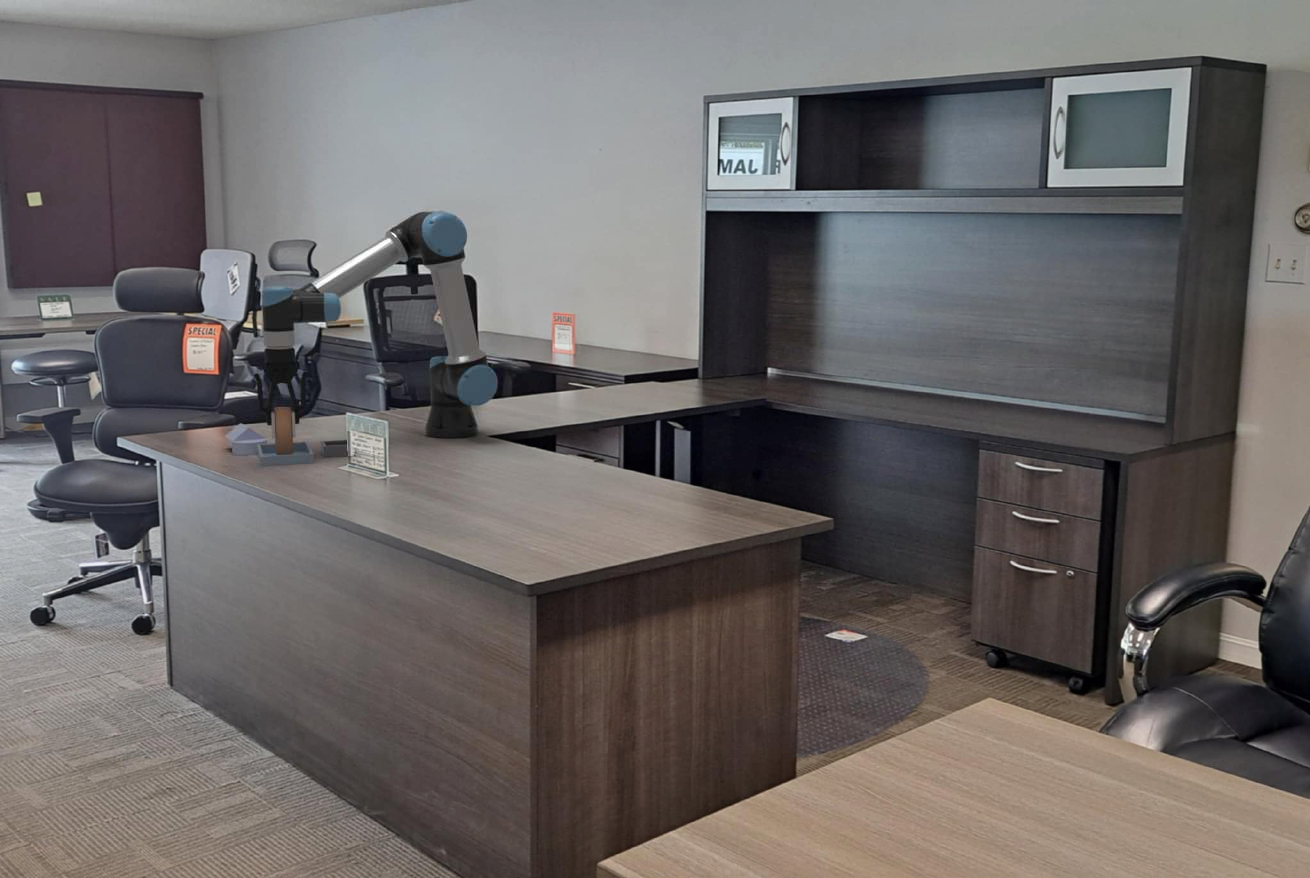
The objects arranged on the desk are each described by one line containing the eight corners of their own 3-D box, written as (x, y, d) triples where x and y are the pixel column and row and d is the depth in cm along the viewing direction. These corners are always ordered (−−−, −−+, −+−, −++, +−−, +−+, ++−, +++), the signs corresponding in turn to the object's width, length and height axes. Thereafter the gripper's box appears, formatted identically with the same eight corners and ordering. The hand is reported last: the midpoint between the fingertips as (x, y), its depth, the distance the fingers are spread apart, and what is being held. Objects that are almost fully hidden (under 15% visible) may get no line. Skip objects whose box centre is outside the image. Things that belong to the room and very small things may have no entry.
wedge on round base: (225, 448, 333) (237, 456, 322) (223, 424, 332) (235, 431, 321) (258, 445, 338) (271, 453, 327) (257, 421, 337) (270, 428, 326)
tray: (308, 452, 328) (307, 441, 328) (314, 465, 311) (313, 453, 311) (257, 455, 324) (256, 444, 323) (260, 468, 307) (260, 456, 306)
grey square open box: (351, 452, 328) (351, 439, 328) (355, 458, 321) (354, 444, 320) (321, 454, 325) (320, 441, 325) (324, 460, 318) (323, 446, 317)
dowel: (292, 451, 320) (290, 406, 318) (294, 455, 316) (291, 409, 314) (275, 452, 318) (273, 407, 316) (276, 456, 314) (274, 409, 312)
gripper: (313, 344, 319) (317, 433, 323) (243, 346, 313) (248, 436, 317) (316, 347, 312) (319, 437, 316) (244, 349, 306) (249, 441, 310)
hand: (283, 436), depth 316 cm, fingers closed on dowel, 4 cm apart
